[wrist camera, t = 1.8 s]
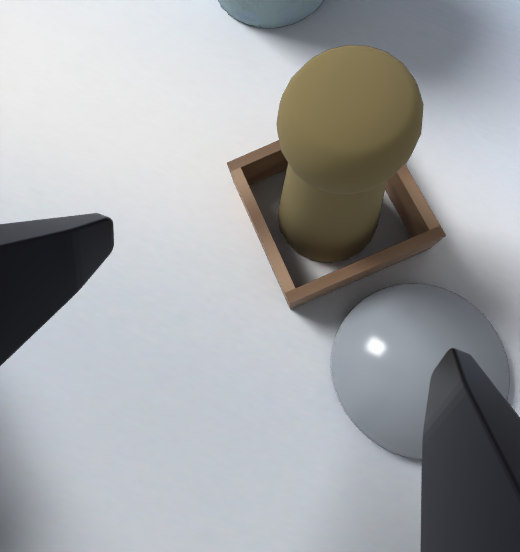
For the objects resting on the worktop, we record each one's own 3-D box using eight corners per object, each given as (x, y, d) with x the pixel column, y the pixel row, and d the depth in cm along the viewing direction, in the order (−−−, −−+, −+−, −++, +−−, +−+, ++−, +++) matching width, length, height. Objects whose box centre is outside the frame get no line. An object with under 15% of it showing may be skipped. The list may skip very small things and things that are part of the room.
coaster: (534, 414, 20) (544, 416, 19) (376, 483, 20) (379, 488, 19) (448, 261, 22) (454, 257, 21) (304, 324, 22) (304, 322, 21)
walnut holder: (429, 248, 22) (445, 235, 20) (290, 309, 22) (289, 303, 20) (361, 126, 24) (368, 101, 22) (233, 182, 24) (226, 162, 22)
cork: (276, 171, 24) (260, 21, 13) (374, 165, 23) (440, 5, 13) (278, 264, 23) (262, 181, 12) (382, 260, 22) (462, 170, 11)
